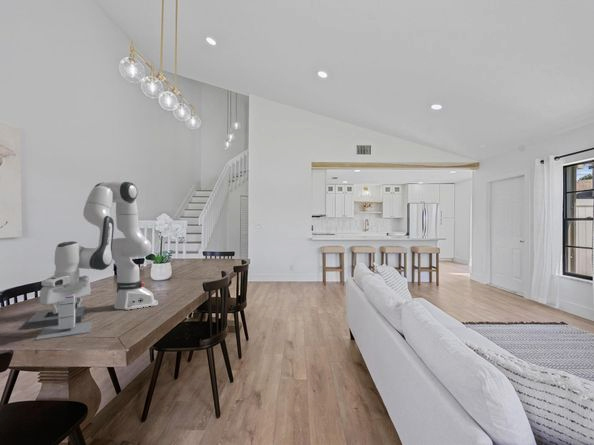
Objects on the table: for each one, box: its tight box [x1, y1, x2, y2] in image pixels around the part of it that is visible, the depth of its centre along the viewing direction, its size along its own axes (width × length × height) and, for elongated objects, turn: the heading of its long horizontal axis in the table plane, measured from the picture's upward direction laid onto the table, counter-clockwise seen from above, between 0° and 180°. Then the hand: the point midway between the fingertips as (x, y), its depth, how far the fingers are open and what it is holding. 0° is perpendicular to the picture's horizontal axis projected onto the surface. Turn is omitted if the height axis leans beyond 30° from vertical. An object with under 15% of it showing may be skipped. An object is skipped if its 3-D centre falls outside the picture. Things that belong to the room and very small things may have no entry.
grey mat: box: [35, 321, 94, 341], centre depth 135 cm, size 18×16×1 cm
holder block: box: [25, 305, 87, 330], centre depth 150 cm, size 20×20×3 cm
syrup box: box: [57, 294, 76, 330], centre depth 135 cm, size 6×6×14 cm
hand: (67, 310), depth 135 cm, fingers closed on syrup box, 8 cm apart
